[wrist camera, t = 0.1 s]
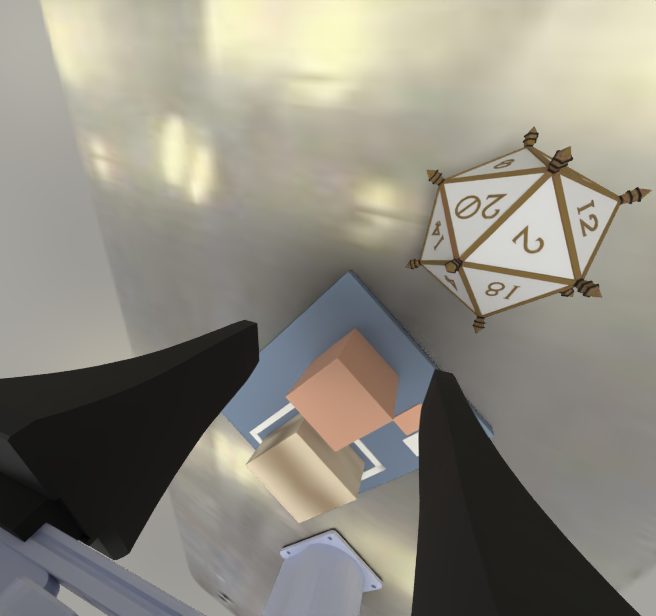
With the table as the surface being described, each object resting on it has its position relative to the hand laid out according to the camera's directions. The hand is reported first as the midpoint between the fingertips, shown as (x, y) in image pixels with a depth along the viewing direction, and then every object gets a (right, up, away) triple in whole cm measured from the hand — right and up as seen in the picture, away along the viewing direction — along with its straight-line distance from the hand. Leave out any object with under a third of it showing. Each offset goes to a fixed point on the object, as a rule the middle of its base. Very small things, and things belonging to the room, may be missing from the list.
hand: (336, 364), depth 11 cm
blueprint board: (0, -7, +14) cm, 15 cm away
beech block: (-2, -11, +15) cm, 18 cm away
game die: (+9, +7, +6) cm, 13 cm away
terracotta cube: (+2, -3, +11) cm, 11 cm away
